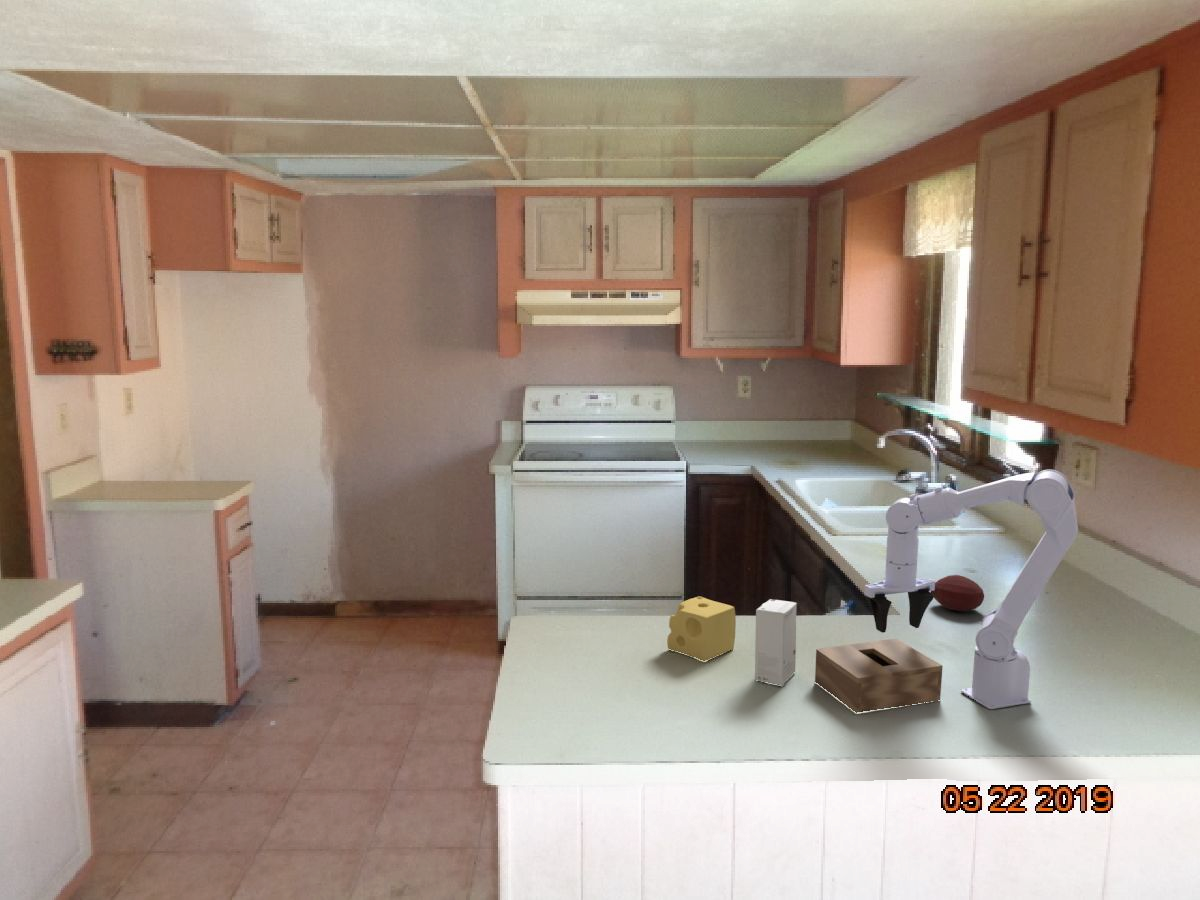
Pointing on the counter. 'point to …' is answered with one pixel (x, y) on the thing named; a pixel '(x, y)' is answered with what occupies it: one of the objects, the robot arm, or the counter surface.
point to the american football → (958, 593)
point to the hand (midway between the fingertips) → (897, 628)
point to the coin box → (878, 675)
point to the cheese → (702, 628)
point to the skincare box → (775, 641)
